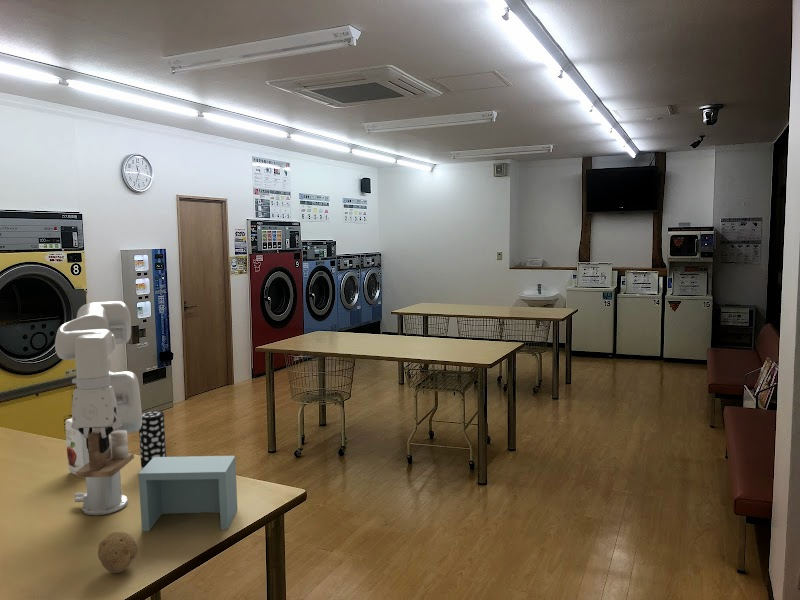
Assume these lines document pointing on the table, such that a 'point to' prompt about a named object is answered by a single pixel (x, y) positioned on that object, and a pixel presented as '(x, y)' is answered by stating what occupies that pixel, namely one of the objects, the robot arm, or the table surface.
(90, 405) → the robot arm
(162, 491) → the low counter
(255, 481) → the table surface
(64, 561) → the table surface
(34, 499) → the table surface
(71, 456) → the juice carton
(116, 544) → the natural sponge
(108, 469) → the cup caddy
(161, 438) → the white-spotted black cylinder
